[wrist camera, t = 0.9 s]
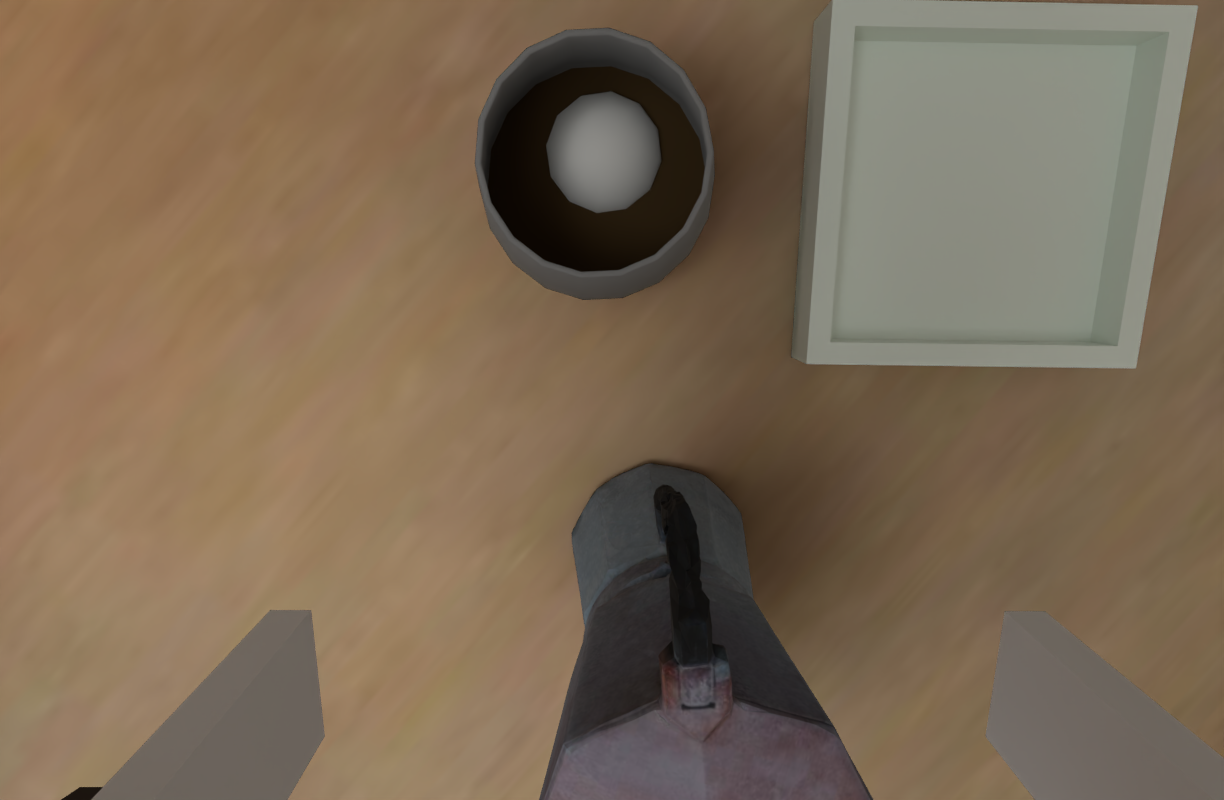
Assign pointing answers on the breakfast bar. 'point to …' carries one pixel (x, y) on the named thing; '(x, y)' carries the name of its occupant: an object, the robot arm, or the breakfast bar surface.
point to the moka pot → (683, 661)
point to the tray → (985, 181)
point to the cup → (595, 163)
